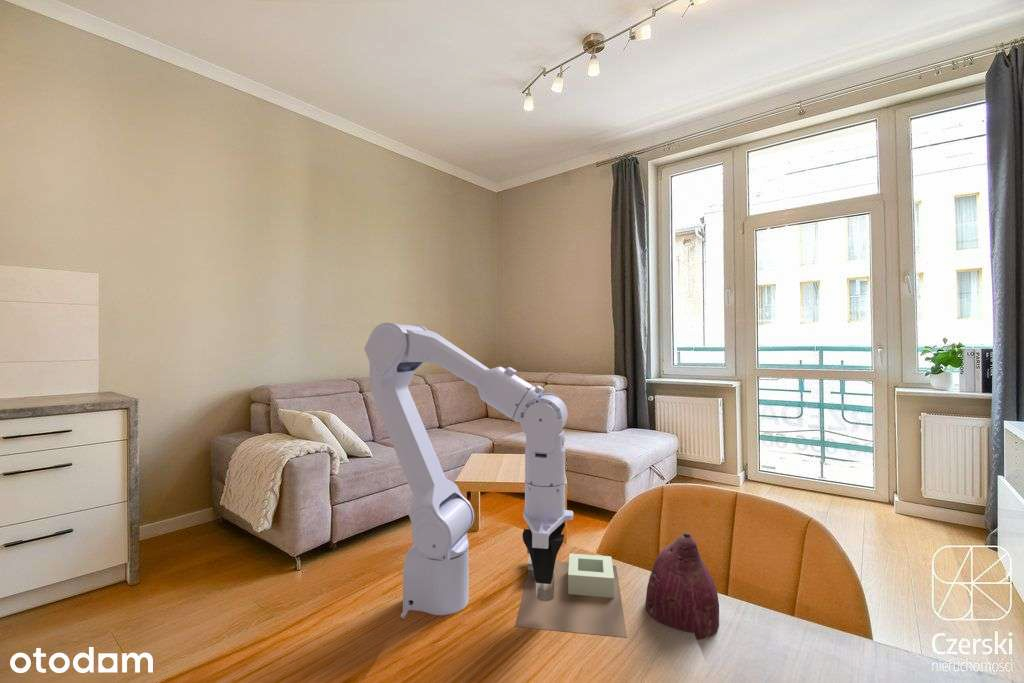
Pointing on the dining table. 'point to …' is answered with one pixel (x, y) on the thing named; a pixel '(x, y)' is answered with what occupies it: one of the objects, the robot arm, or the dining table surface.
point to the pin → (545, 591)
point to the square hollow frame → (590, 575)
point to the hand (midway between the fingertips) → (544, 576)
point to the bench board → (571, 607)
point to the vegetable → (683, 590)
